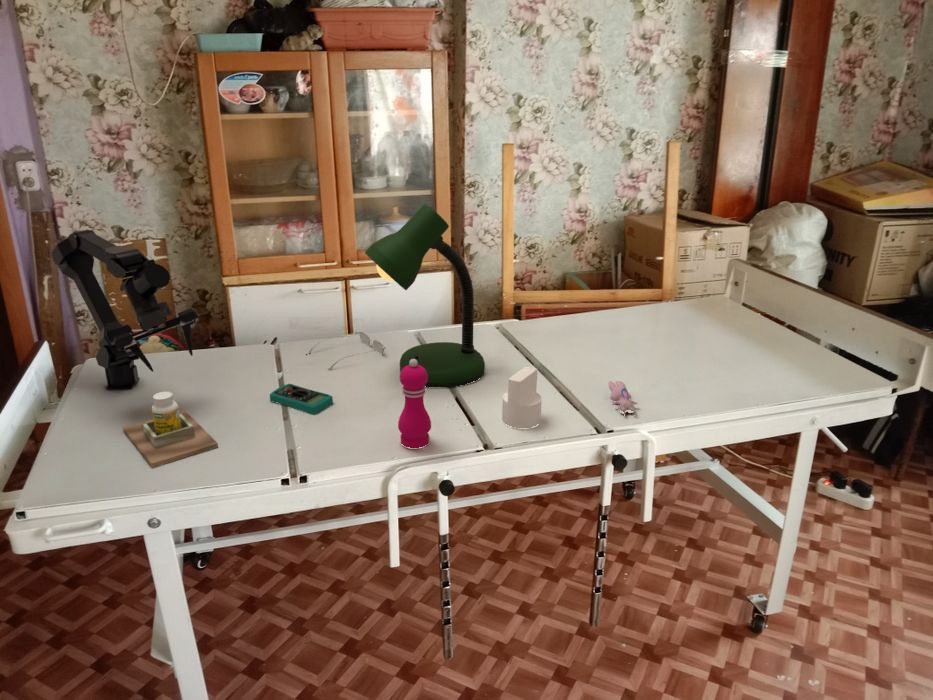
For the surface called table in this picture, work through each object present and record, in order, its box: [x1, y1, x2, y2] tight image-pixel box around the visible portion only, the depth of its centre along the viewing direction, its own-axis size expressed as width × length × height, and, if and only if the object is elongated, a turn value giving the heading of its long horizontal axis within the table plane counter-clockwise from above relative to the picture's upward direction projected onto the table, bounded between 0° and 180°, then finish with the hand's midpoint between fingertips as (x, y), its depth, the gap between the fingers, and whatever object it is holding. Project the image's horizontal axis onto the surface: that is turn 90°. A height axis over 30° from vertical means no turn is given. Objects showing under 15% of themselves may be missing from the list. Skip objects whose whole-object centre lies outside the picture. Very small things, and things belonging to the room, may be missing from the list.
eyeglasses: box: [305, 331, 386, 371], centre depth 212 cm, size 15×18×4 cm
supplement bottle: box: [151, 391, 182, 436], centre depth 165 cm, size 5×5×10 cm
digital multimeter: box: [269, 383, 334, 415], centre depth 184 cm, size 7×15×3 cm, turn 60°
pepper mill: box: [397, 359, 432, 448], centre depth 163 cm, size 7×7×20 cm
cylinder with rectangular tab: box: [501, 366, 543, 428], centre depth 174 cm, size 9×9×12 cm
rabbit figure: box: [608, 380, 638, 414], centre depth 184 cm, size 6×6×15 cm
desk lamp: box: [364, 203, 486, 389], centre depth 193 cm, size 31×23×45 cm
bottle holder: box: [122, 410, 219, 468], centre depth 166 cm, size 20×14×4 cm
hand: (172, 363), depth 175 cm, fingers open, 9 cm apart
